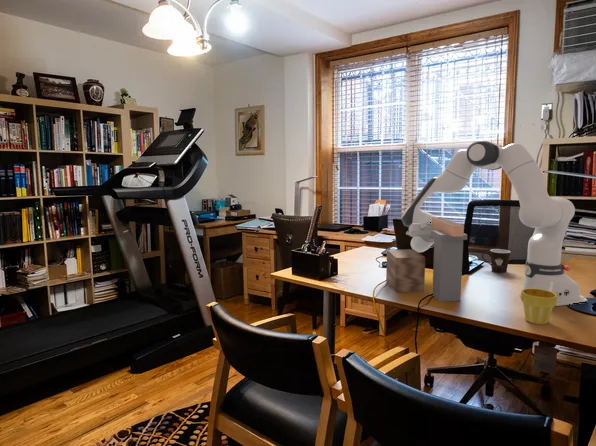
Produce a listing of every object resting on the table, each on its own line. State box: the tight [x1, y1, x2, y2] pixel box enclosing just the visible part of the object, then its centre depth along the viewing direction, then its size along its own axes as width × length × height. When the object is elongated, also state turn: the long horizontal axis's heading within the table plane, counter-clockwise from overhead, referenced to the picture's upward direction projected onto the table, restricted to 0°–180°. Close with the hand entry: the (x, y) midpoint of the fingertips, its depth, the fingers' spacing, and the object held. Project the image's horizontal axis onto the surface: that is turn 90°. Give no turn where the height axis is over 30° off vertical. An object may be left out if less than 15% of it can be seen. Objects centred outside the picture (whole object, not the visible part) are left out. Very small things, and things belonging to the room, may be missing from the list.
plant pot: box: [520, 288, 557, 325], centre depth 139 cm, size 10×10×10 cm
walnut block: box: [385, 248, 426, 293], centre depth 178 cm, size 12×15×14 cm
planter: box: [431, 216, 465, 237], centre depth 162 cm, size 4×22×4 cm, turn 2°
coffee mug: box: [481, 248, 511, 274], centre depth 201 cm, size 12×9×10 cm
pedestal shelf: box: [431, 230, 468, 302], centre depth 162 cm, size 10×10×26 cm
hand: (439, 222), depth 170 cm, fingers open, 8 cm apart
